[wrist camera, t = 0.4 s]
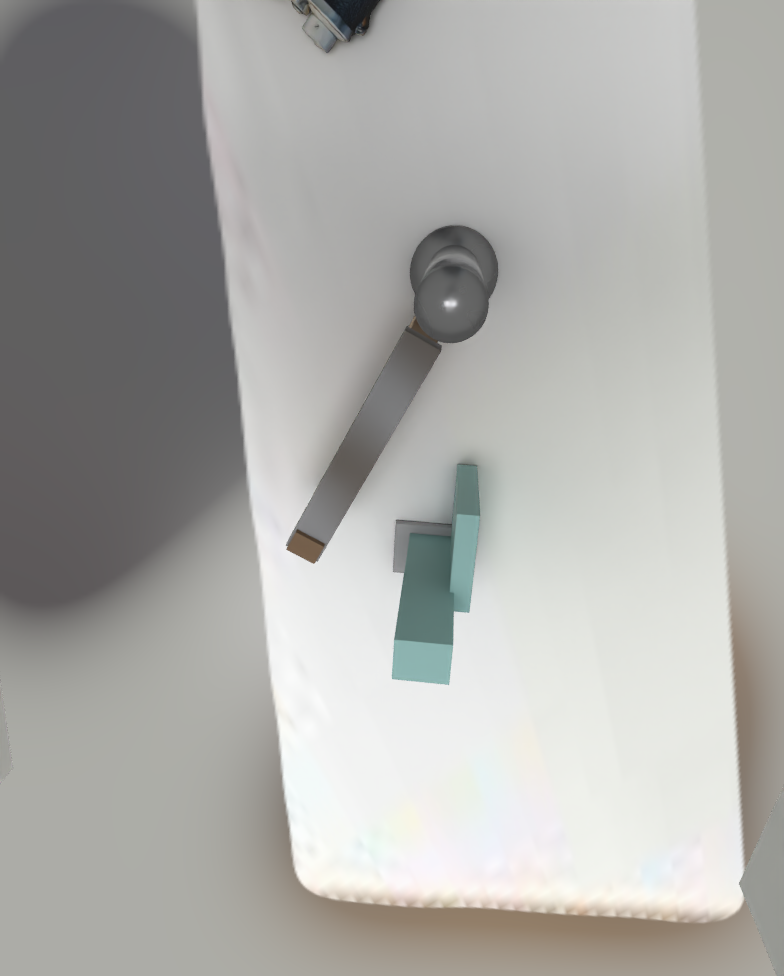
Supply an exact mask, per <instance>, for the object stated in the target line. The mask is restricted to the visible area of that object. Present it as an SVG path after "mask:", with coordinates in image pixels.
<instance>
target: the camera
mask: <svg viewBox="0 0 784 976" xmlns="http://www.w3.org/2000/svg"><path fill="white" fill-rule="evenodd" d="M291 1H292V4H293V7H294V8H295V9H296V10H297V12H298V13H299V14H300V13H302V14H305V15H306V16H307V14H308V13H309V9H310V8H311V11H312V13H311V15H310V16H309V18H308V19H307V21H306V22H305V24H304V25H303V27H302V29H303V30H304V32H305V33H306V34H307V35H308V36H309V37H310V38H312V39H313V40H314V43H315V45H317V46H318V47H319V48H321V49H322V50H323V51H325V52H326V53H328V52H329V51H330V49H331V48H332V46H333V45H334V43H335V42H336V40H337V39H339V40H340V41H343V42H349V41H350V39H351V36H352V35H355V34H358V35H362V36H363V35H364V34H365V32H366V31H367V29H368V27H369V20H370V15H371V13H372V10H373V9H374V8H375V6H376V5H377V3H378V2H379V1H380V0H291Z"/></svg>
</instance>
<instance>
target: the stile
mask: <svg viewBox="0 0 784 976" xmlns="http://www.w3.org/2000/svg"><path fill="white" fill-rule="evenodd" d="M479 521H480V507H479V491H478V474H477V466H472V465H459V464H458V465H457V476H456V487H455V497H454V508H453V519H452V525H448V524H436V523H424V522H412V521H400V520H396V528H395V546H394V563H393V572H399V573H404V578H403V584H402V591H401V598H400V605H399V611H398V618H397V625H396V632H395V638H394V653H393V669H392V679H397V680H407V681H417V682H427V683H437V684H447V685H449V680H450V670H451V660H452V651H453V617H454V611H457V612H468V613H469V611H470V602H471V593H472V584H473V575H474V566H475V557H476V548H477V539H478V530H479Z"/></svg>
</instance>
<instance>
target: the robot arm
mask: <svg viewBox="0 0 784 976" xmlns="http://www.w3.org/2000/svg"><path fill="white" fill-rule="evenodd" d="M12 768H13V765H12V757H11V750H10V743H9V736H8V729H7V722H6V715H5V708H4V701H3V694H2V688H1V680H0V784H1V782H2V781H3V780H4V779H5V777H6V776H7V775H8V773H9V772H10V771H11V770H12ZM739 885H740V887H741V890H742V892H743V894H744V897H745V899H746V902H747V904H748V907H749V909H750V912H751V914H752V916H753V919H754V921H755V924H756V926H757V929H758V931H759V934H760V936H761V938H762V941H763V943H764V946H765V948H766V950H767V953H768V955H769V958H770V960H771V963H772V965H773V967H774V970H775V972H776V975H777V976H784V786H783V788H782V790H781V793H780V795H779V797H778V799H777V801H776V803H775V806H774V808H773V810H772V813H771V814H770V817H769V819H768V821H767V824H766V825H765V828H764V830H763V832H762V834H761V836H760V839H759V841H758V843H757V846H756V847H755V849H754V852H753V854H752V856H751V858H750V860H749V863H748V865H747V867H746V869H745V871H744V874H743V876H742V878H741V880H740V882H739Z"/></svg>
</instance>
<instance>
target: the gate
mask: <svg viewBox="0 0 784 976" xmlns="http://www.w3.org/2000/svg"><path fill="white" fill-rule="evenodd" d="M441 347H442V346H441V345H439V344H438V341H437V340H435V339H433V338H431V337H430V336H428V335H427V334H426V333H425V332H424V331H423V330H422V329H421V327H420V326H419V324H418V322H417V320H416V317H414V318H413V320H412V322H411V324H410V326H409V327H408V326H407V327H406V329H405V331H404V332H403V334H402V336H401V338H400V340H399V341H398V343H397V345H396V347H395V349H394V350H393V352H392V354H391V356H390V358H389V359H388V361H387V363H386V365H385V367H384V368H383V370H382V372H381V374H380V376H379V377H378V379H377V381H376V383H375V385H374V386H373V388H372V390H371V392H370V394H369V395H368V397H367V399H366V401H365V403H364V404H363V406H362V408H361V410H360V412H359V413H358V415H357V417H356V419H355V421H354V422H353V424H352V426H351V428H350V430H349V431H348V433H347V435H346V437H345V439H344V440H343V442H342V444H341V446H340V448H339V449H338V451H337V453H336V455H335V457H334V458H333V460H332V462H331V464H330V466H329V467H328V469H327V471H326V473H325V475H324V476H323V478H322V480H321V481H320V483H319V485H318V487H317V489H316V490H315V492H314V494H313V496H312V498H311V500H310V502H309V503H308V505H307V507H306V509H305V511H304V512H303V514H302V516H301V518H300V520H299V521H298V523H297V525H296V527H295V529H294V530H293V532H292V534H291V536H290V538H289V540H288V542H287V544H286V546H288V547H287V549H286V550H288V551H290V552H292V553H294V554H296V555H298V556H300V557H302V558H304V559H306V560H308V561H309V562H311V563H313V564H314V563H315V562H316V561H317V562H318V560H319V558H320V556H321V555H322V553H323V551H324V550H325V548H326V546H327V545H328V543H329V541H330V539H331V538H332V536H333V534H334V533H335V531H336V529H337V527H338V526H339V524H340V522H341V521H342V519H343V517H344V516H345V514H346V512H347V510H348V509H349V507H350V505H351V504H352V502H353V500H354V499H355V497H356V495H357V493H358V492H359V490H360V488H361V487H362V485H363V483H364V481H365V480H366V478H367V476H368V475H369V473H370V471H371V470H372V468H373V466H374V464H375V463H376V461H377V459H378V458H379V456H380V454H381V453H382V451H383V449H384V447H385V446H386V444H387V442H388V441H389V439H390V437H391V435H392V434H393V432H394V430H395V429H396V427H397V425H398V424H399V422H400V420H401V418H402V417H403V415H404V413H405V412H406V410H407V408H408V406H409V405H410V403H411V401H412V400H413V398H414V396H415V395H416V393H417V391H418V389H419V388H420V386H421V384H422V383H423V381H424V379H425V378H426V376H427V374H428V372H429V371H430V369H431V367H432V366H433V364H434V362H435V360H436V359H437V357H438V355H439V354H440V352H441Z"/></svg>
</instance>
